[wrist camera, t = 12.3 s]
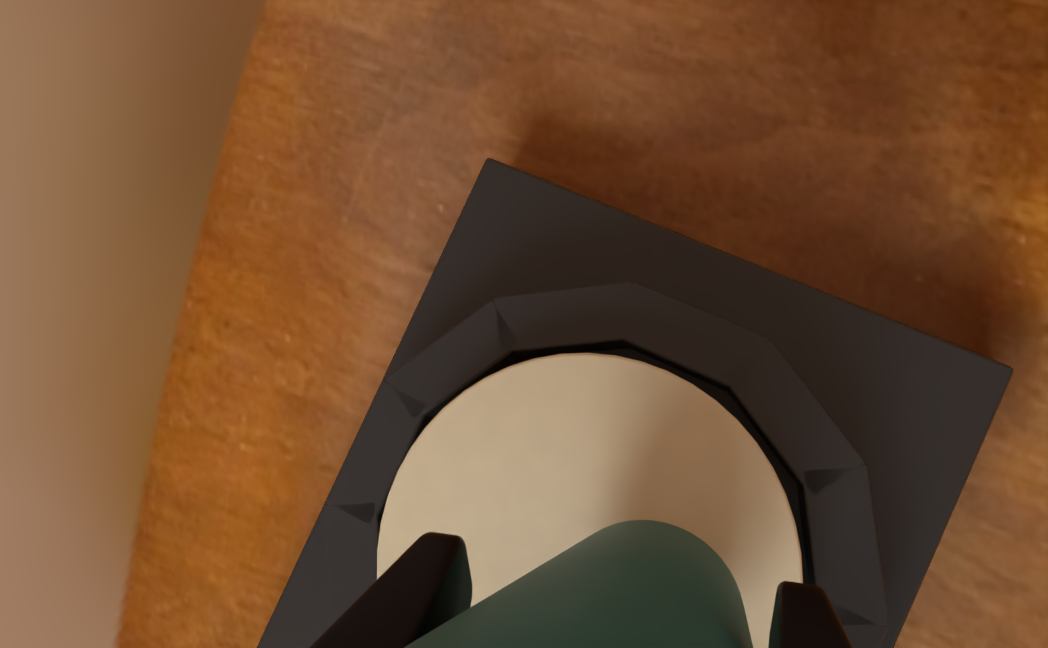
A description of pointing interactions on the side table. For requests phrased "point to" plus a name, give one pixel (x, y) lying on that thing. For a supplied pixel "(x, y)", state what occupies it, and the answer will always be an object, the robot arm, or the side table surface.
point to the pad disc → (591, 475)
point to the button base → (694, 355)
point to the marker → (611, 598)
